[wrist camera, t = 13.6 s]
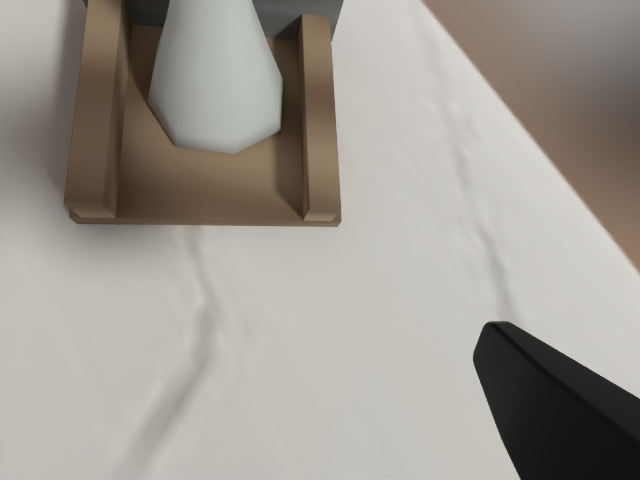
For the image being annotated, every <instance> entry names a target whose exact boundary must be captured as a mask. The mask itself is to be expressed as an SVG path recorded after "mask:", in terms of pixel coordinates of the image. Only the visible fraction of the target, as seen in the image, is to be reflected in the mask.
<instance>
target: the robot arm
mask: <svg viewBox="0 0 640 480" xmlns="http://www.w3.org/2000/svg"><path fill="white" fill-rule="evenodd" d="M473 362H474V366H475V369H476V372H477V374H478V377H479V380H480V383H481V385H482V388H483V391H484V394H485V396H486V399H487V402H488V404H489V407H490V410H491V413H492V415H493V418H494V421H495V424H496V426H497V429H498V431H499V434H500V436H501V439H502V441H503V443H504V446H505V448H506V450H507V452H508V454H509V456H510V458H511V461H512V463H513V465H514V467H515V469H516V471H517V473H518V475H519V477H520V479H521V480H640V399H639V398H638V397H636V396H634V395H633V394H631V393H629V392H627V391H626V390H624V389H622V388H621V387H619V386H617V385H616V384H614V383H612V382H610V381H609V380H607V379H605V378H604V377H602V376H600V375H599V374H597V373H595V372H593V371H592V370H590V369H588V368H587V367H585V366H583V365H582V364H580V363H578V362H576V361H575V360H573V359H571V358H570V357H568V356H566V355H565V354H563V353H561V352H560V351H558V350H556V349H554V348H553V347H551V346H549V345H548V344H546V343H544V342H543V341H541V340H539V339H537V338H536V337H534V336H532V335H531V334H529V333H527V332H526V331H524V330H522V329H520V328H519V327H517V326H515V325H514V324H512V323H510V322H507V321H491V322H487V323H486V324H485V325H484V326H483V329H482V331H481V334H480V337H479V339H478V342H477V345H476V347H475V350H474V353H473Z"/></svg>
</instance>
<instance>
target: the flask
mask: <svg viewBox="0 0 640 480" xmlns="http://www.w3.org/2000/svg"><path fill="white" fill-rule="evenodd" d="M283 97H284V82H283V79H282V76H281V74H280V71H279V69H278V67H277V64H276V62H275V60H274V57H273V55H272V53H271V50H270V48H269V46H268V43H267V40H266V38H265V35H264V32H263V30H262V27H261V24H260V22H259V19H258V16H257V14H256V11H255V8H254V5H253V3H252V0H170V3H169V7H168V12H167V16H166V21H165V24H164V27H163V31H162V34H161V37H160V40H159V44H158V48H157V52H156V56H155V62H154V68H153V73H152V79H151V85H150V90H149V96H148V101H147V102H148V104H149V106H150V107H151V109H152V110H153V112H154V113H155V115H156V116H157V118H158V120H159V121H160V123H161V124H162V126H163V127H164V129H165V130H166V132H167V133H168V135H169V137H170V138H171V140H172V141H173V143H174V144H175V146H176V147H181V148H189V149H197V150H205V151H213V152H222V153H230V154H235V153H237V152H239V151H241V150H243V149H245V148H247V147H249V146H251V145H253V144H255V143H257V142H259V141H261V140H263V139H265V138H267V137H269V136H271V135H273V134H275V133H277V132H278V131H280V130H281V123H282V110H283Z"/></svg>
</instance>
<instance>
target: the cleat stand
mask: <svg viewBox="0 0 640 480" xmlns="http://www.w3.org/2000/svg"><path fill="white" fill-rule="evenodd" d="M83 1H84V3H85V5H86V8H87V16H86V24H85V32H84V41H83V49H82V57H81V65H80V73H79V82H78V90H77V98H76V106H75V115H74V123H73V131H72V139H71V148H70V156H69V164H68V172H67V181H66V189H65V197H64V203H65V204H66V205H67V206H68V207H70V214H69V217H70V218H71V219H72V220H73V221H74V222H76V223H77V224H151V225H233V226H314V227H337V226H338V225H339V224H340V222H341V200H340V183H339V166H338V149H337V133H336V116H335V99H334V83H333V66H332V49H331V41H332V38H333V35H334V31H335V28H336V24H337V21H338V18H339V14H340V11H341V7H342V4H343V1H344V0H252V3H253V5H254V8H255V11H256V14H257V16H258V19H259V22H260V24H261V27H262V30H263V32H264V35H265V38H266V40H267V43H268V46H269V48H270V50H271V53H272V55H273V57H274V60H275V62H276V64H277V67H278V69H279V71H280V74H281V76H282V79H283V82H284V97H283V110H282V123H281V130H280V131H278V132H277V133H275V134H273V135H271V136H269V137H267V138H265V139H263V140H261V141H259V142H257V143H255V144H253V145H251V146H249V147H247V148H245V149H243V150H241V151H239V152H237V153H235V154H230V153H222V152H213V151H205V150H197V149H189V148H181V147H176V146H175V144H174V143H173V141H172V140H171V138H170V137H169V135H168V133H167V132H166V130H165V129H164V127H163V126H162V124H161V123H160V121H159V120H158V118H157V116H156V115H155V113H154V112H153V110H152V109H151V107H150V106H149V104H148V102H147V101H148V96H149V90H150V85H151V79H152V73H153V68H154V62H155V56H156V52H157V48H158V44H159V40H160V37H161V34H162V31H163V27H164V24H165V21H166V16H167V12H168V7H169V3H170V0H83Z"/></svg>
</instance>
